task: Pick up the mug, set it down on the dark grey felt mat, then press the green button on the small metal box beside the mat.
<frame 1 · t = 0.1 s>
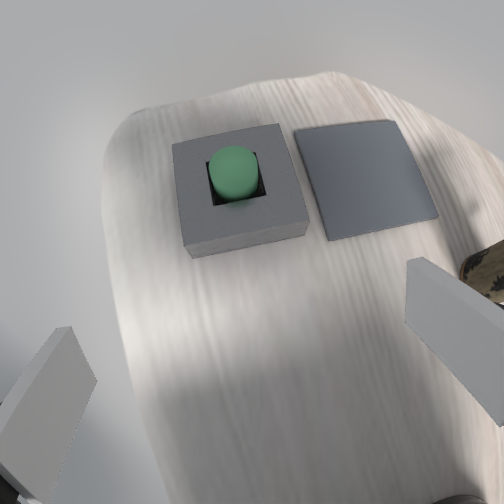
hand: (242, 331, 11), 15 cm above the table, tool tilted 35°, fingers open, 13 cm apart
mat: (366, 174, 30), on the table
button box: (238, 196, 30), on the table
button: (234, 174, 26), point 4 cm above the table, slide at 0.0 cm
mug: (483, 275, 27), on the table
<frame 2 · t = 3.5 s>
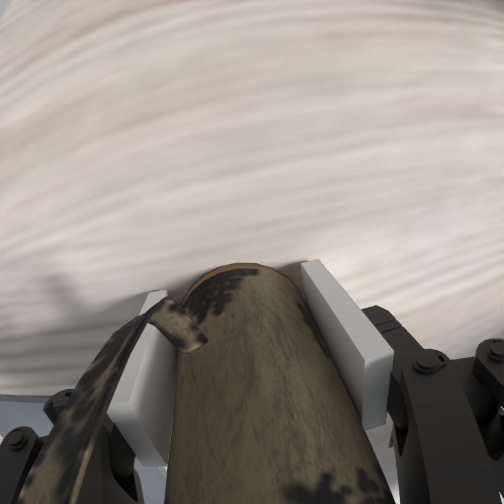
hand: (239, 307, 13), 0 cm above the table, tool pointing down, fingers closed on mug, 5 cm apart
mat: (80, 458, 16), on the table
mug: (229, 303, 14), on the table, touching gripper
when the fingers open (3 cm above the table, at t = 8.2 s): mug drops 2 cm, resting on mat.
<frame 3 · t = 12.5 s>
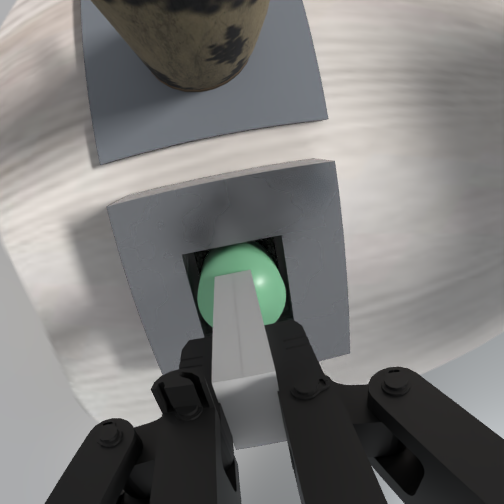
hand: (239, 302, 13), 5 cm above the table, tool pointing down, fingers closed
mat: (193, 33, 14), on the table
button box: (237, 264, 18), on the table
button: (240, 285, 15), point 3 cm above the table, slide at 1.1 cm
mug: (187, 31, 13), resting on mat
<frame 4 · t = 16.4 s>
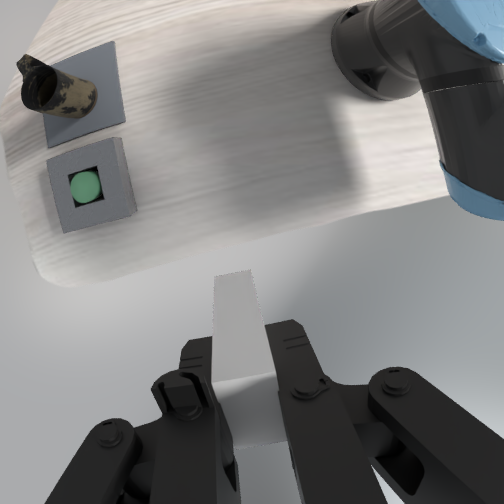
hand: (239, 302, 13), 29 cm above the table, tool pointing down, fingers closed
mat: (79, 94, 35), on the table
button box: (95, 183, 39), on the table
button: (87, 186, 36), point 3 cm above the table, slide at 1.3 cm
mug: (76, 93, 34), resting on mat
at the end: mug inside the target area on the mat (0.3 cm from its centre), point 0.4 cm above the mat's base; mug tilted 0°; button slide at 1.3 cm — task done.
